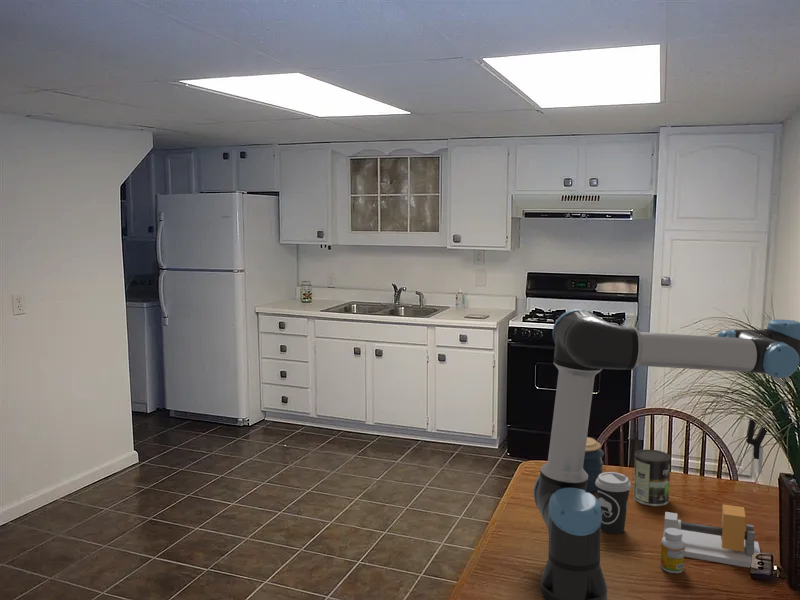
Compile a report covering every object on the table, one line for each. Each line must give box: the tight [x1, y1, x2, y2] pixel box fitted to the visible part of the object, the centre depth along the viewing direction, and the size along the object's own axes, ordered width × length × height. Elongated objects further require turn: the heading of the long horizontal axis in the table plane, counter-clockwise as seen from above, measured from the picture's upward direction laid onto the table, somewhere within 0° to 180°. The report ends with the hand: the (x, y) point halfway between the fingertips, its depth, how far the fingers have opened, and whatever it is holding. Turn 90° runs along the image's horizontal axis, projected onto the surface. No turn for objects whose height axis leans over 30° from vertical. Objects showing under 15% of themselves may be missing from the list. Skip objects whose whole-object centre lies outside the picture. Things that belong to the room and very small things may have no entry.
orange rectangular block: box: [720, 504, 747, 552], centre depth 176 cm, size 6×5×9 cm
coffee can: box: [633, 449, 672, 507], centre depth 209 cm, size 10×10×14 cm
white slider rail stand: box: [662, 511, 761, 569], centre depth 178 cm, size 12×23×8 cm, turn 67°
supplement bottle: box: [660, 528, 685, 574], centre depth 170 cm, size 5×5×10 cm
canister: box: [583, 436, 605, 495], centre depth 219 cm, size 13×13×18 cm
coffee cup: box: [595, 471, 632, 535], centre depth 190 cm, size 10×10×15 cm
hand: (776, 473), depth 170 cm, fingers open, 7 cm apart
